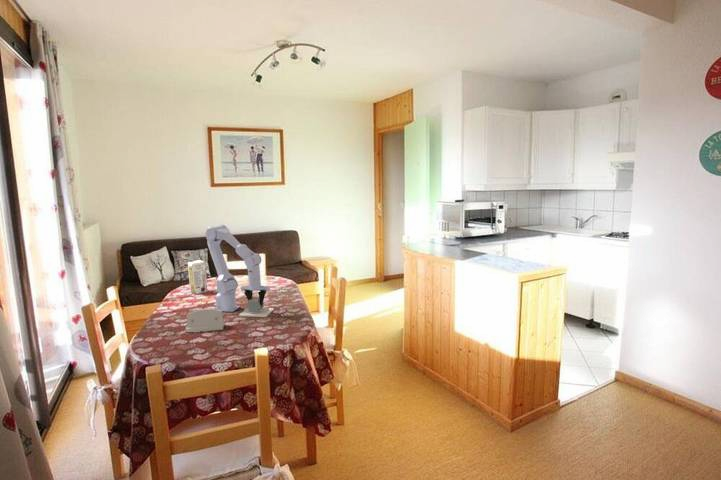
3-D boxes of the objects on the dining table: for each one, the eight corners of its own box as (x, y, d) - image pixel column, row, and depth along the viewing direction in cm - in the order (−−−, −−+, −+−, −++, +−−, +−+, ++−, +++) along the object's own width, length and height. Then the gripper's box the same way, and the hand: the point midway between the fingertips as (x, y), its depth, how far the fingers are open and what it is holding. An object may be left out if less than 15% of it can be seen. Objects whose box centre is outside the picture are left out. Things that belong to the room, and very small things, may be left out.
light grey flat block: (184, 333, 182) (184, 310, 183) (187, 333, 186) (186, 310, 188) (223, 329, 185) (223, 307, 187) (225, 329, 190) (224, 307, 191)
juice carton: (209, 291, 247) (206, 260, 244) (196, 295, 240) (193, 263, 237) (201, 289, 251) (198, 259, 248) (189, 293, 244) (185, 262, 241)
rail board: (239, 316, 202) (238, 311, 201) (248, 308, 212) (248, 304, 212) (265, 317, 199) (265, 312, 199) (274, 309, 210) (273, 305, 210)
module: (248, 311, 202) (247, 301, 201) (254, 306, 209) (253, 296, 208) (258, 312, 201) (257, 301, 200) (263, 306, 208) (262, 296, 207)
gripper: (237, 280, 200) (239, 306, 202) (265, 280, 198) (266, 307, 200) (243, 276, 207) (245, 302, 209) (270, 276, 205) (272, 302, 207)
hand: (256, 304), depth 205 cm, fingers closed on module, 5 cm apart
